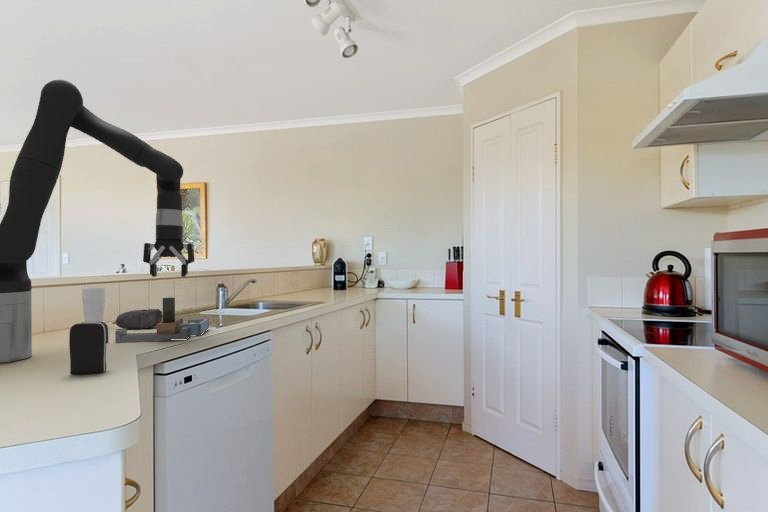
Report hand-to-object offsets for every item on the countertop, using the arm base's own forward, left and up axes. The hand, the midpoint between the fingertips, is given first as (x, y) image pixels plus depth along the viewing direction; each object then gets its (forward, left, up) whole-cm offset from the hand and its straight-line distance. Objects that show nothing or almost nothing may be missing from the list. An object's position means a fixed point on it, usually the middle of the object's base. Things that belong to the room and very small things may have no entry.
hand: (169, 276), depth 132 cm
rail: (0, +5, -20) cm, 20 cm away
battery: (-36, +6, -20) cm, 41 cm away
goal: (+10, -5, -20) cm, 23 cm away
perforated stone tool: (+23, +18, -20) cm, 35 cm away
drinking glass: (+24, +33, -20) cm, 45 cm away
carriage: (+5, 0, -19) cm, 20 cm away
